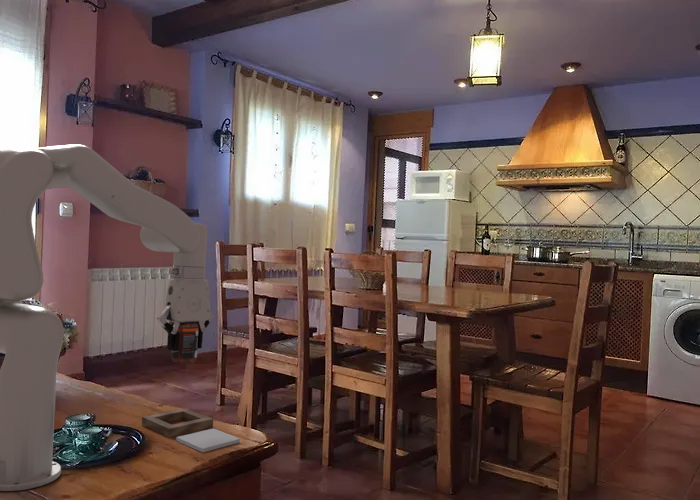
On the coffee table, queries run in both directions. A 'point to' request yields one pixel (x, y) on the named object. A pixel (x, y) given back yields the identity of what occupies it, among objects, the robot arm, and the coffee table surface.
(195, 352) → the supplement bottle
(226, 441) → the glazed tile
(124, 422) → the coffee table surface
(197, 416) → the frame
